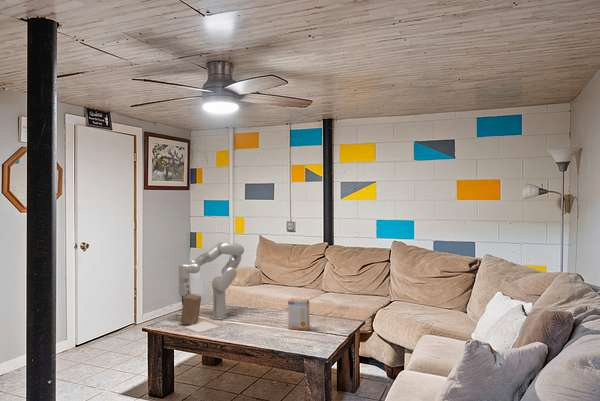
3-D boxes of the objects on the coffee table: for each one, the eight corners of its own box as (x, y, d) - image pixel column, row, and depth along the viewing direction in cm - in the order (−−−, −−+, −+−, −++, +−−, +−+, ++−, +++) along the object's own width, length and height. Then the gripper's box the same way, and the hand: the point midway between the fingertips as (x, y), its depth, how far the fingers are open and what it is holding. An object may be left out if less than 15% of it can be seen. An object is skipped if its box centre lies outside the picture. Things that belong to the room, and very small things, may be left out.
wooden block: (192, 326, 318) (196, 299, 318) (179, 323, 321) (183, 296, 320) (198, 322, 328) (201, 296, 327) (186, 319, 330) (189, 293, 329)
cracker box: (309, 328, 309) (309, 299, 308) (307, 331, 303) (306, 301, 303) (291, 326, 313) (290, 297, 313) (288, 329, 307) (287, 299, 307)
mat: (205, 322, 327) (205, 321, 327) (219, 327, 314) (219, 326, 314) (184, 327, 314) (184, 327, 314) (198, 333, 302) (198, 332, 302)
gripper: (193, 280, 326) (194, 305, 326) (183, 278, 336) (183, 302, 336) (184, 282, 320) (185, 307, 321) (174, 279, 331) (174, 304, 331)
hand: (184, 304), depth 328 cm, fingers closed
